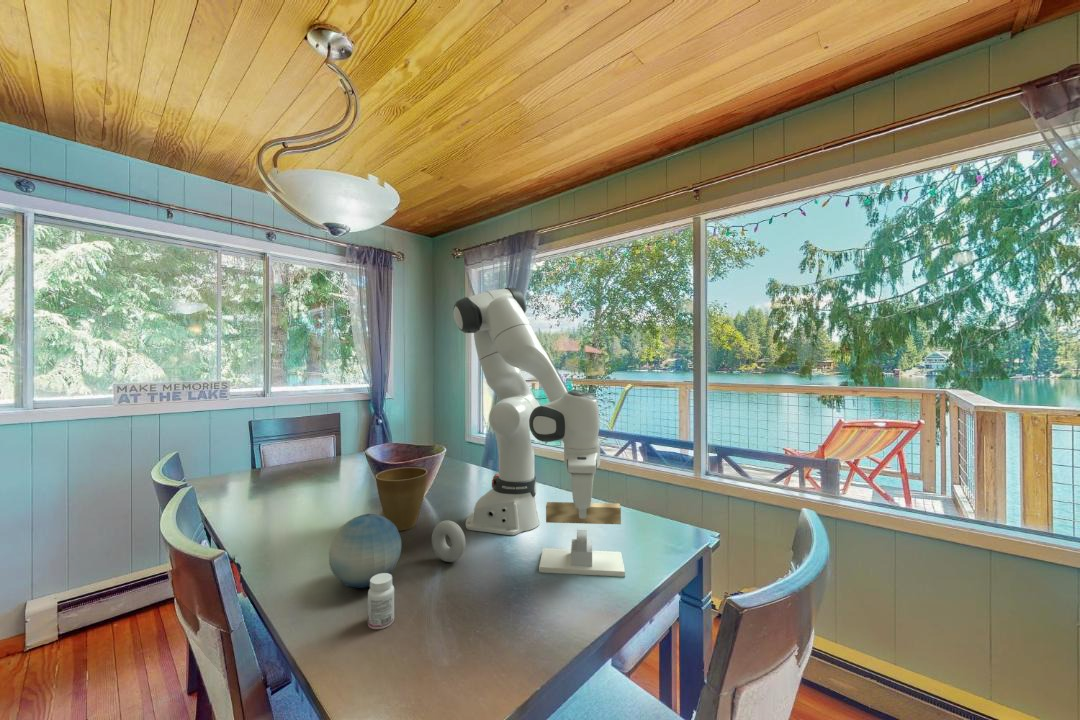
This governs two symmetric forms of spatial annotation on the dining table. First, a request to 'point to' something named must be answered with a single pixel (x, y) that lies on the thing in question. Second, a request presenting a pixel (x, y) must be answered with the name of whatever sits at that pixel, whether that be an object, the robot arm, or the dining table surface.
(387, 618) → the pill bottle
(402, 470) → the plant pot
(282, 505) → the dining table surface
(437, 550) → the donut
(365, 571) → the decorative ball
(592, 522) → the pine bar
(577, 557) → the fulcrum stand
